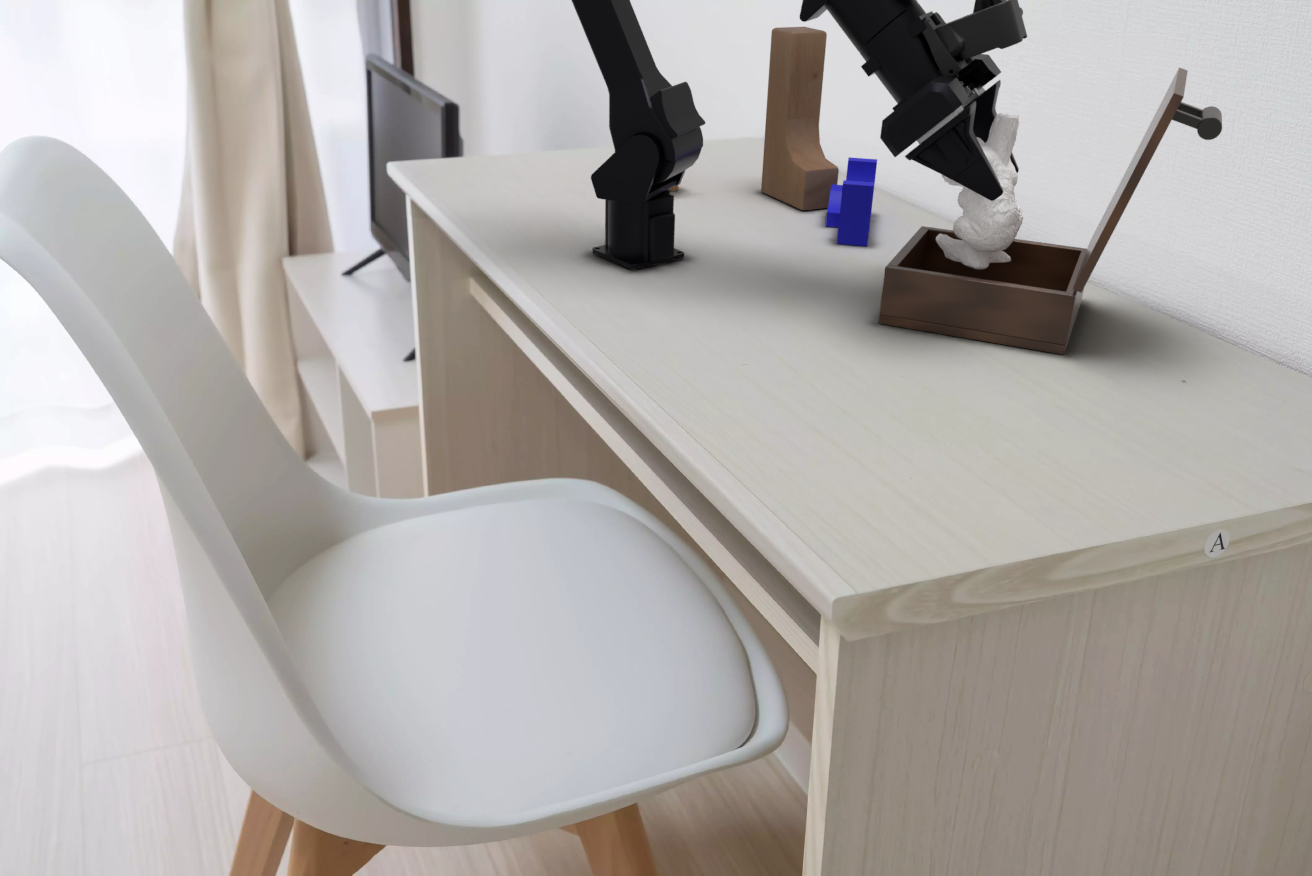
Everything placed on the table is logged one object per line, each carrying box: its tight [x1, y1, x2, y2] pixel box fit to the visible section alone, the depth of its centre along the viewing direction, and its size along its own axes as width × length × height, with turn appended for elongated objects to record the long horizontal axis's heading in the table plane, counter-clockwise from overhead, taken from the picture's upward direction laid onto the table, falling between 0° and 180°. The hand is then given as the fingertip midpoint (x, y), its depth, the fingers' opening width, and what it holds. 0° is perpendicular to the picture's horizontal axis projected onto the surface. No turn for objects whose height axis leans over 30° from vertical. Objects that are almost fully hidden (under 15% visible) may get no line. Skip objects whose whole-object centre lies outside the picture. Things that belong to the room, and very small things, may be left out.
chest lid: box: [1073, 67, 1223, 292], centre depth 86 cm, size 15×14×4 cm
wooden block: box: [760, 26, 840, 211], centre depth 123 cm, size 9×4×18 cm, turn 26°
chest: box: [878, 225, 1087, 355], centre depth 94 cm, size 15×14×5 cm
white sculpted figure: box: [936, 112, 1024, 269], centre depth 91 cm, size 8×7×12 cm
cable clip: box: [825, 157, 878, 247], centre depth 116 cm, size 12×4×6 cm, turn 168°
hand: (1006, 186), depth 90 cm, fingers closed on white sculpted figure, 8 cm apart
